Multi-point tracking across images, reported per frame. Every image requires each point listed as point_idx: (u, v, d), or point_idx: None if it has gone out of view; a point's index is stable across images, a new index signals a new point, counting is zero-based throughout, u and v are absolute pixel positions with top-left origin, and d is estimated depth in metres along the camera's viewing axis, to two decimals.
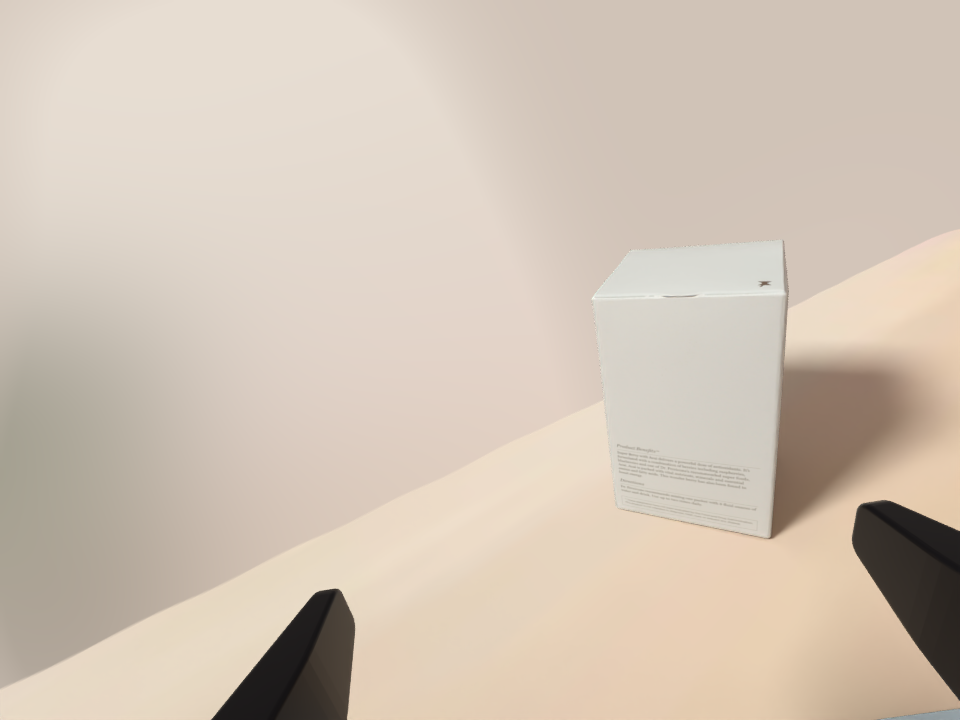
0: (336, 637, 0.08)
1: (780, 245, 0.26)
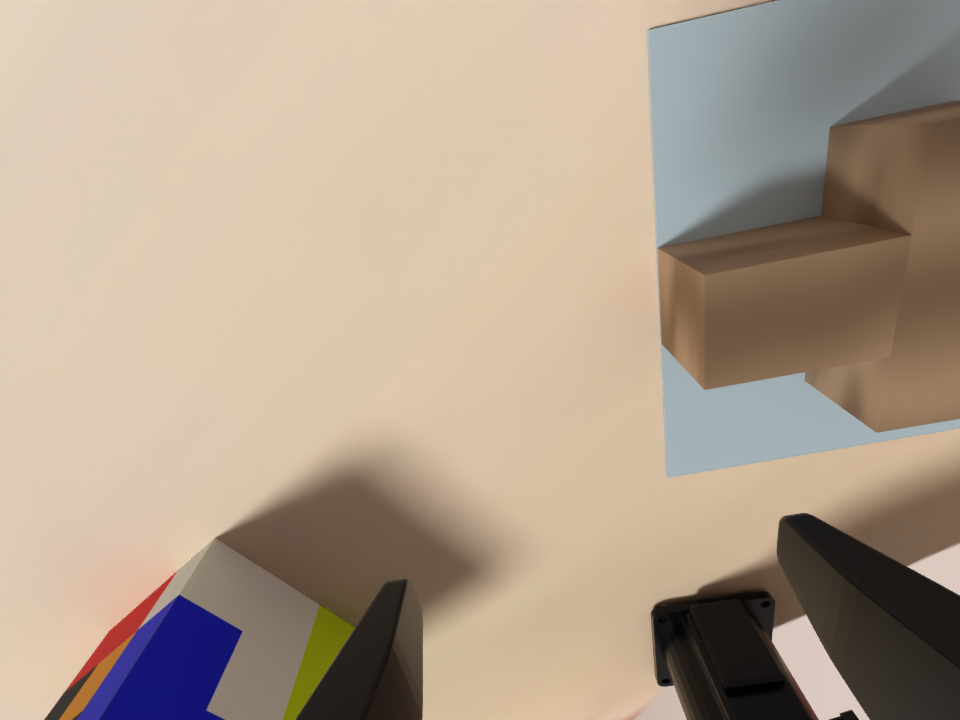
0: (410, 626, 0.08)
1: None
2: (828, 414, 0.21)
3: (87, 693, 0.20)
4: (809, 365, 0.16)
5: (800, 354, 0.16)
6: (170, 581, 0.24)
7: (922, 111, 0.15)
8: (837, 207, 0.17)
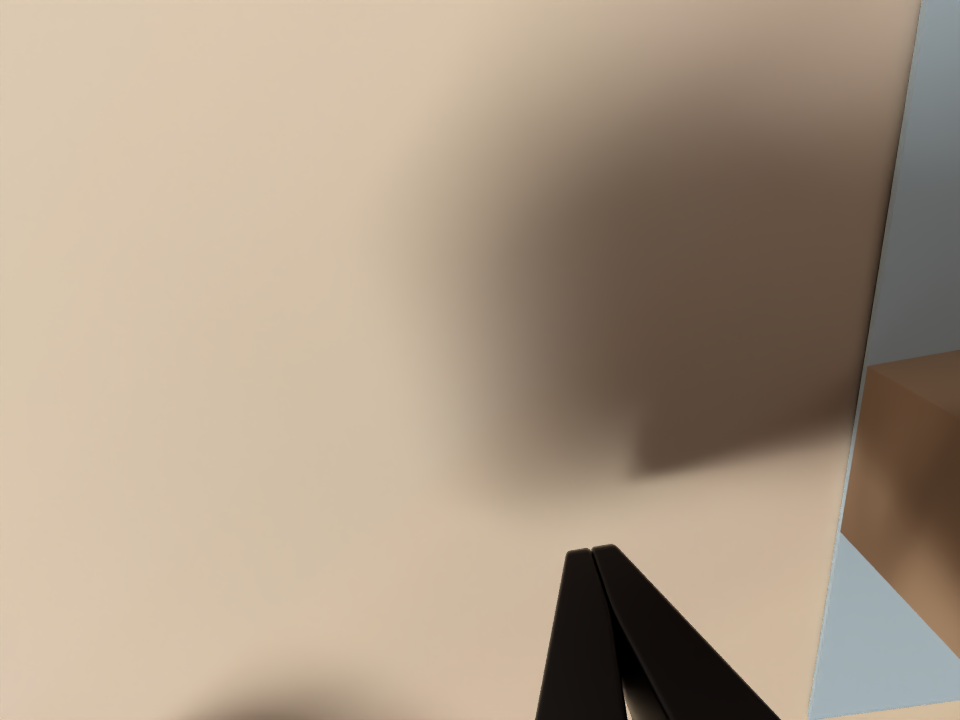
0: None
1: None
2: None
3: None
4: None
5: None
6: None
7: None
8: None
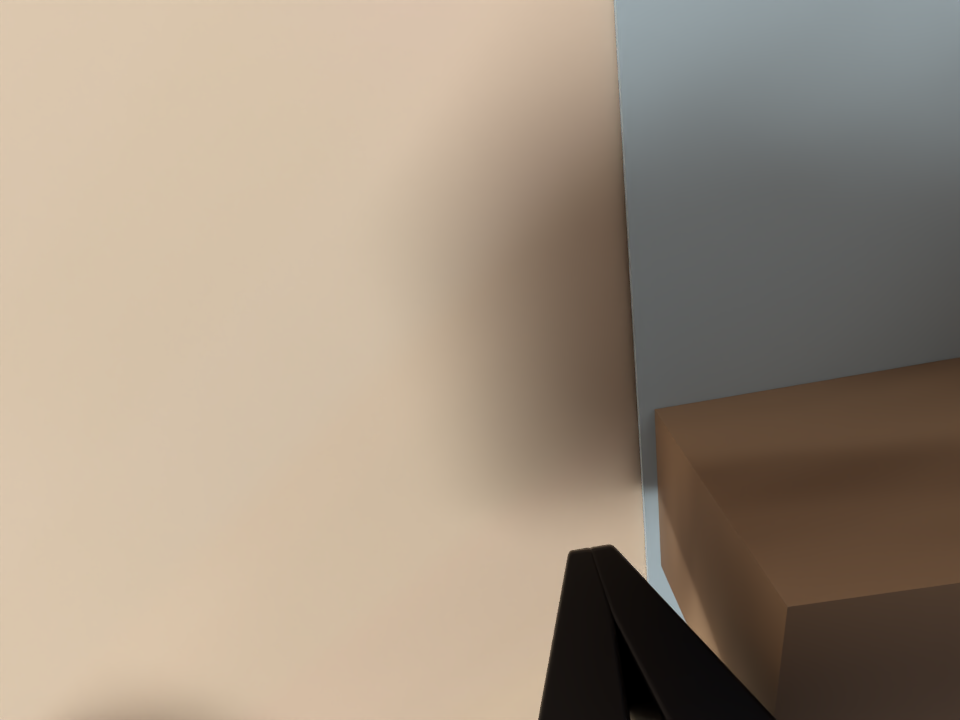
0: None
1: None
2: None
3: None
4: None
5: None
6: None
7: None
8: None
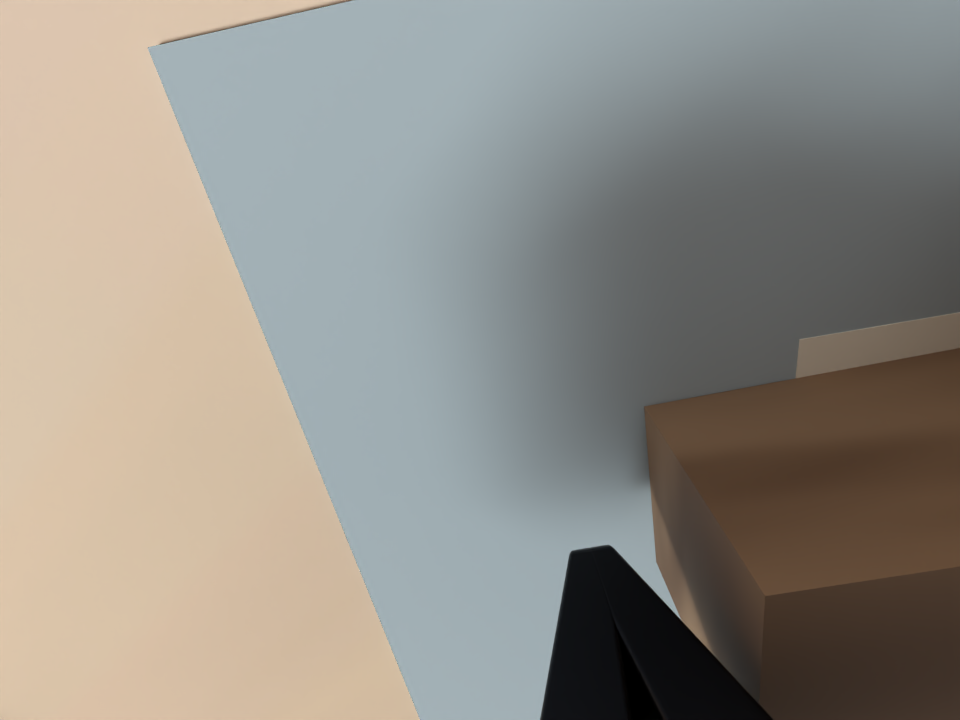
0: None
1: None
2: None
3: None
4: None
5: None
6: None
7: None
8: None
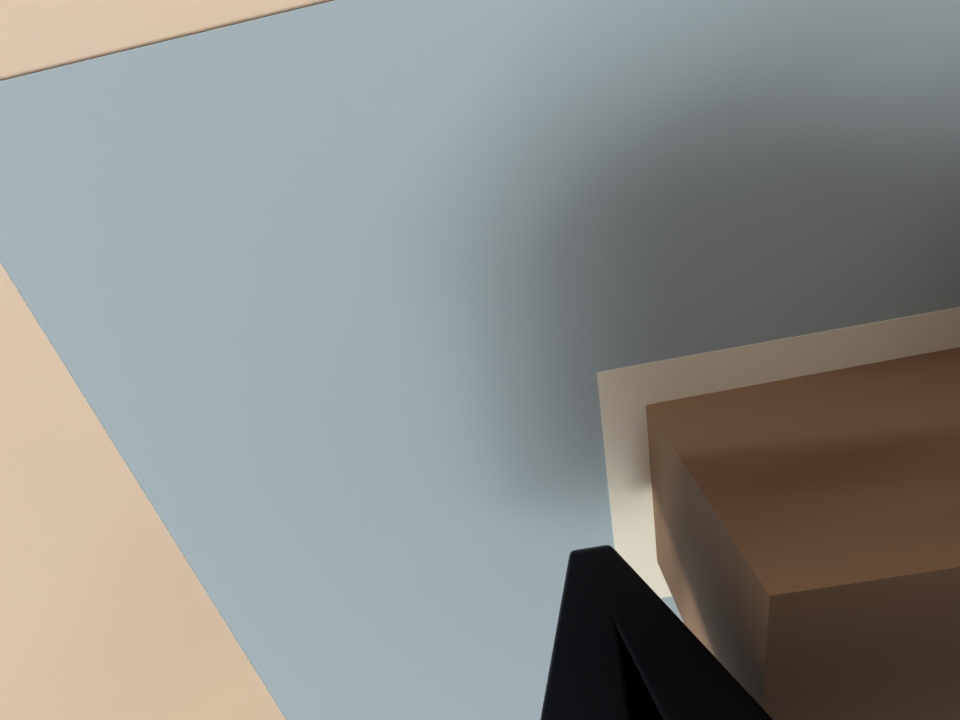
0: None
1: None
2: None
3: None
4: None
5: None
6: None
7: None
8: None
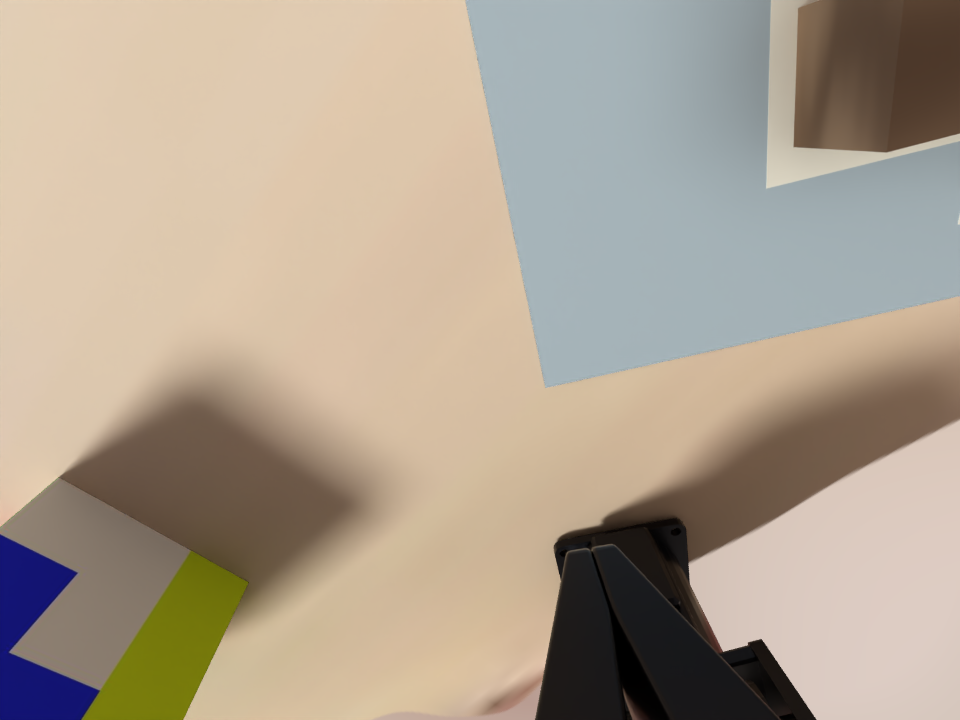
0: None
1: None
2: (718, 305, 0.19)
3: None
4: None
5: None
6: None
7: None
8: None
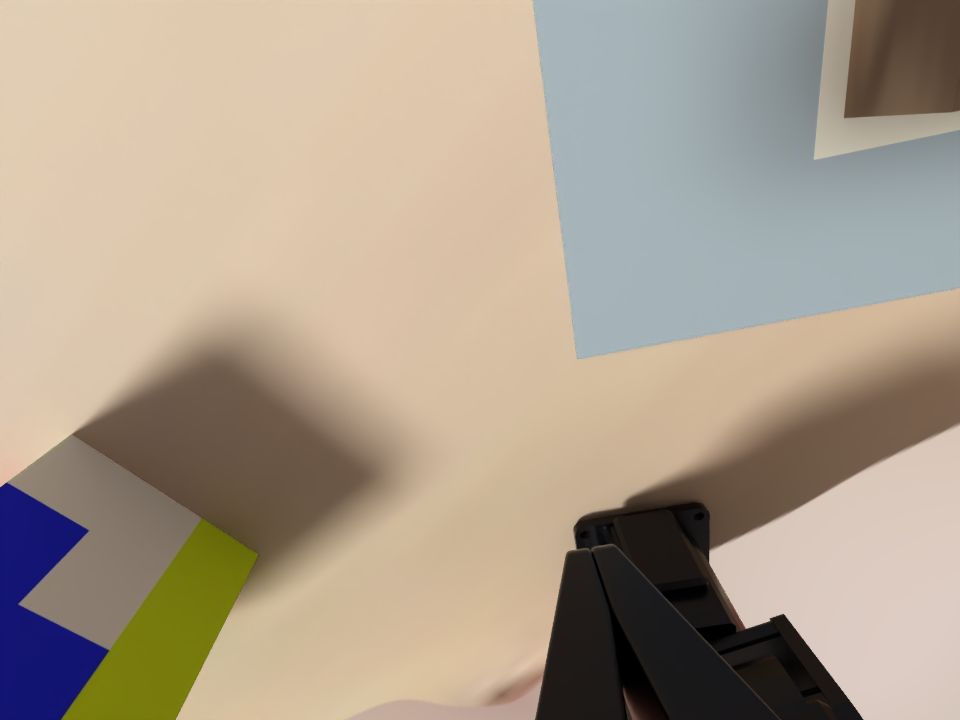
0: None
1: None
2: (756, 279, 0.19)
3: None
4: None
5: None
6: None
7: None
8: None
